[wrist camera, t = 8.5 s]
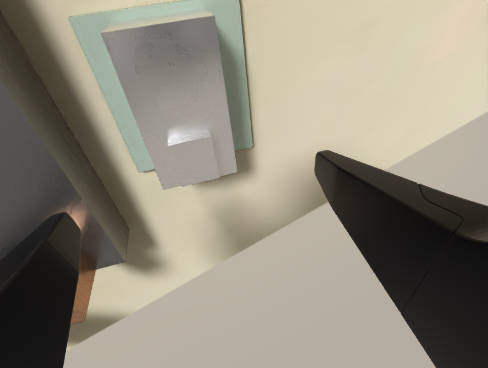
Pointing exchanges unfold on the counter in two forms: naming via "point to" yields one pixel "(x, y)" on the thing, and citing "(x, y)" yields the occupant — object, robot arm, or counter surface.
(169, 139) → the lever cap
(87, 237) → the hand plane
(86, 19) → the mat
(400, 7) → the counter surface
